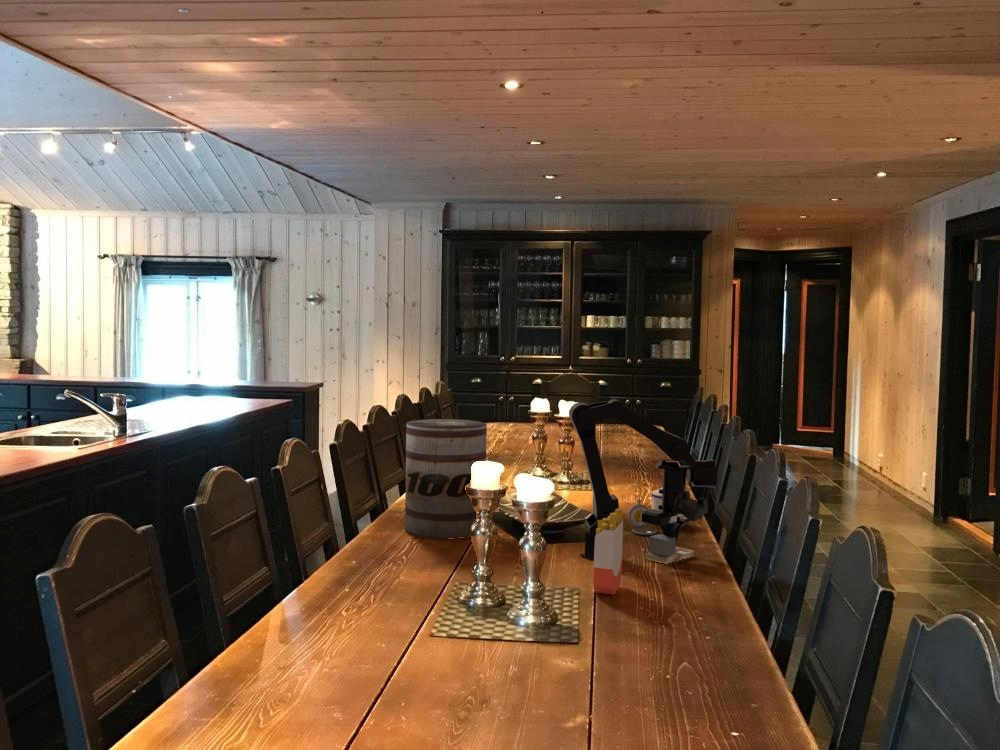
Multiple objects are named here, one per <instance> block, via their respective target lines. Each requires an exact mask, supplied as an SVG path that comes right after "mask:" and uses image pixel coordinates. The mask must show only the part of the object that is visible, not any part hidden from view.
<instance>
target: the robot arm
mask: <svg viewBox="0 0 1000 750" xmlns="http://www.w3.org/2000/svg"><path fill="white" fill-rule="evenodd" d="M568 416H569V420H570V421H571V423H572V426H573V428H574V430H575V433H576V435H577V436H578V439H579V441H580V445H581V449H582V454H583V457H584V461H585V466H586V469H587V473H588V476H589V477H588V478H589V482H590V485H591V486H590V487H591V491H592V511H593V513H592V514H591V515H590V516H588V517H587V519H586V520H584V524H585V527H586V530H588V531H586V532H585V534H584V552H582V553H580V554H579V556H580V557H583V558H586V559H590V560H593V561H594V549H595V536H596V529H597V528H598V520H602V519H603V518H607V517H608V516H610V513H613V512H615V509H620V506H619V498H618V497H617V496H616V494H614V493H613V494H611V493H610V492H609V488H608V483H607V481H606V476H605V472H604V471H605V470H604V469H603V468H604V467H603V463H602V459H601V455H600V451H599V447H598V443H597V438H596V435H597V434H596V433H597V432H596V430H597V427H596V425H597V424H596V422H600V421H603V420H607V419H610V418H616V419H618V420H619V421H621V422H623V423H624V424H626V426H629V427H630V428H632V429H633V430H635V431H636V432H637V433H638V434H641V435H642V436H643V437H645V438H646V439H648V440H649V441H650V442H652V444H653V445H654V446H655V447H656V448H658V449H659V450H660V452H662V453H663V455H665V456H666V457H668V459H670V460H672V461H666V460H665V459H664V458H660V460H659V461H658V462H657V463H655V464H654V465H655V466H654V467H656V468H657V469H658V470H662V487H663V489H660V488H659V494H662V505H658V509H659V510H663V511H659V510H655V509H652V508H651V509H648V510H646V511H644V512H643V513H642V514H641V522H645V523H647V524H650V525H653V526H657V527H658V526H659V528H660V529H661V531H662V534H663V535H666V536H670V537H674V538H676V543H677V542H678V539H679V536H680V534H681V530H682V528H683V527H684V526H685V525H687V524H688V523H690V522H696V521H698V520H700V521H701V520H702V519H703V517H704V515H705V514H707V513H708V512H709V510H708V508H709V503H708V502H709V501H708V500H707V499H706V498H703V497H702V498H699V499H693V498H691V493H690V490H688V489H687V487H686V486H687V483H690V484H691V487H694V488H695V487H697V488H701V487H702V488H703V487H704V488H715V487H717V485H718V477H719V475H718V473H717V466H716V461H715V460H714V459H705V460H701V459H700V460H699V459H697V460H696V459H695V458H694V457H693V455H691V453H690V446H689V443H688V442H687V441H686V440H685V439H683V438H681V437H679V436H678V435H675V434H673V433H670V432H668V431H666V430H665V429H661V428H659V427H657V426H655V424H653V423H651V422H649V421H648V420H647V419H645V418H644V417H642V416H640V415H639V414H638V413H636V412H635V411H633V410H631V409H630V408H629V407H627V406H626V405H624V404H623V402H622V401H619V400H618V399H610V400H608V401H601V402H600V401H599V402H594V403H588V404H586V402H585V403H584V402H576V403H574V404H573V405H572V406H571V407H570V409H569V411H568ZM679 462H681V463H684V464H685V465H684V464H683V465H681V464H680V463H679ZM686 489H687V490H686ZM602 523H603V521H602Z"/></svg>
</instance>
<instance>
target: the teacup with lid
mask: <svg viewBox="0 0 1000 750" xmlns="http://www.w3.org/2000/svg"><path fill="white" fill-rule="evenodd" d="M659 489H663V486H662V487H660V488H659ZM659 489H655V490H653V491H652V492H651V497H652V498H651V509H655V510H659V509H658V505H662V494H659ZM659 511H663V510H659Z"/></svg>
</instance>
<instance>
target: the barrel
mask: <svg viewBox="0 0 1000 750" xmlns="http://www.w3.org/2000/svg"><path fill="white" fill-rule="evenodd" d="M487 430H488V425H487V423H486V422H484V421H483V422H482V421H477V420H470V419H454V418H449V419H448V418H436V419H435V418H431V419H416V420H409V421H407V422H406V431H405V432H406V433H405V434H406V436H405V439H406V440H405V444H406V445H405V446H406V447H405V496H404V497H405V499H404V500H405V502H404V506H405V508H404V509H405V511H404V513H405V514H404V522H405V523H404V531H405V532H406V533H407V534H408V533H409V534H408V535H410V534H411V535H410V536H413V535H414V537H417V536H419V537H418V538H421V537H424V538H423V539H428V538H430V539H429V540H449V539H448V538H459V537H468V536H469V537H470V528H471V525H472V523H473V522H474V521H475V519H476V511H475V510H474V508H473V506H472V502H471V499H470V497H469V496H468V495H467V493H466V490H465V486H466V485H467V484H469V483H470V480H471V466H472V464H473V463H474V462H476V461H486V462H487V441H488V440H487V439H488V438H487V437H488V436H487V432H488V431H487ZM470 538H471V537H470Z"/></svg>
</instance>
